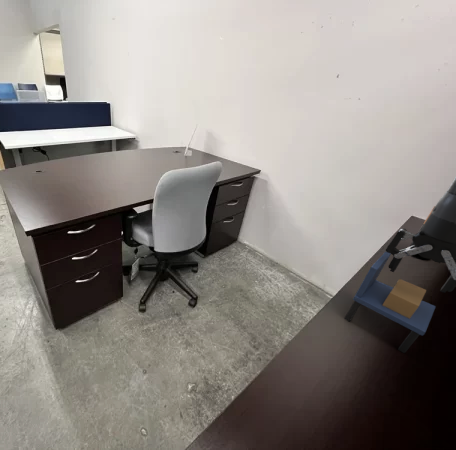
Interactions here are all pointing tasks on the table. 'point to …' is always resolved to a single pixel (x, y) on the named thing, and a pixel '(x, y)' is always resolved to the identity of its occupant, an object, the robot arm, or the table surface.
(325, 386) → the table surface
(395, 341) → the table surface
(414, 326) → the chair
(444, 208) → the robot arm
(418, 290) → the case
